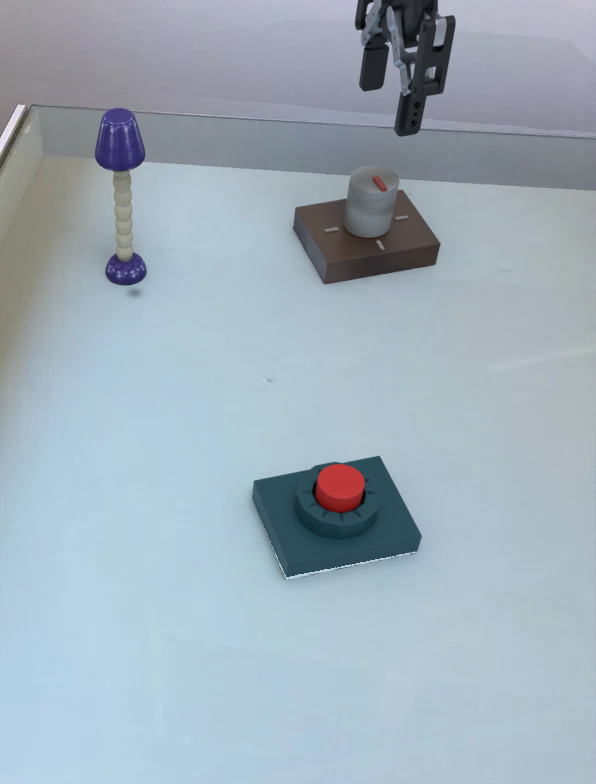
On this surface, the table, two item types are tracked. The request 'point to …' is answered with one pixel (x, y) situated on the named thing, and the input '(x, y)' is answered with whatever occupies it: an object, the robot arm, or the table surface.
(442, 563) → the table surface
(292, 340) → the table surface
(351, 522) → the switch block
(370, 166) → the dimmer knob
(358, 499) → the light button
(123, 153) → the toy lamp
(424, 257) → the dimmer panel
